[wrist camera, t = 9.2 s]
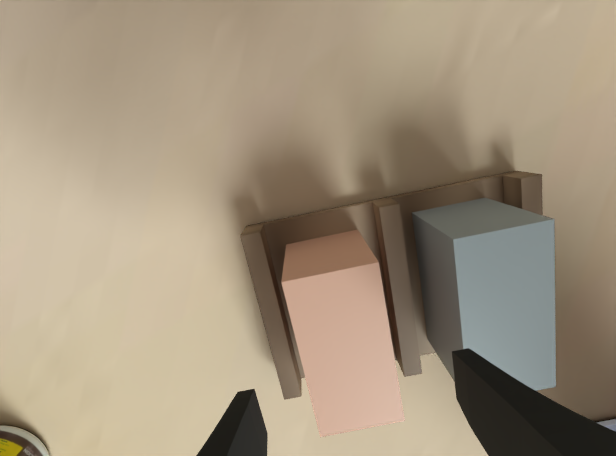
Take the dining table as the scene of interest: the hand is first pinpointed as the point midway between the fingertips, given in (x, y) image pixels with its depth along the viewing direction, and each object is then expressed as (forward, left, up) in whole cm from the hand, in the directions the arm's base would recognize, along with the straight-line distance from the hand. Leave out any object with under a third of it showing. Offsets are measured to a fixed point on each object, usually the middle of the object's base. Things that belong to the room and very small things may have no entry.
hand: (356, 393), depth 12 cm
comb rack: (-3, 0, -8) cm, 9 cm away
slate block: (-7, 0, -8) cm, 10 cm away
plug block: (0, 0, -8) cm, 8 cm away
